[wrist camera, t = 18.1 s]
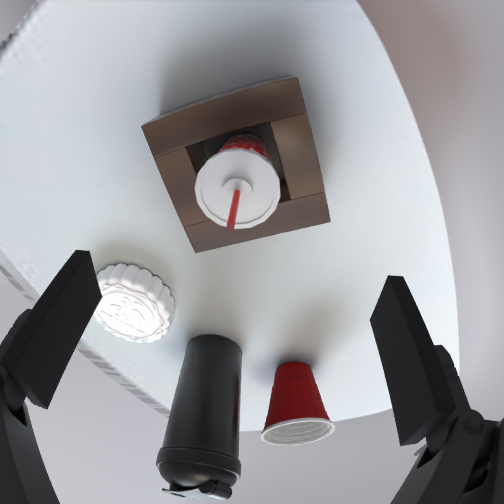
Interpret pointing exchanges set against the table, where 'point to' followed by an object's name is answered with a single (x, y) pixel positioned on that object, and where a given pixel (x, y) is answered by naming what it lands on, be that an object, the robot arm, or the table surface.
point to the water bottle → (204, 422)
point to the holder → (228, 120)
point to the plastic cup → (295, 408)
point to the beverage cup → (238, 184)
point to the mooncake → (134, 303)
